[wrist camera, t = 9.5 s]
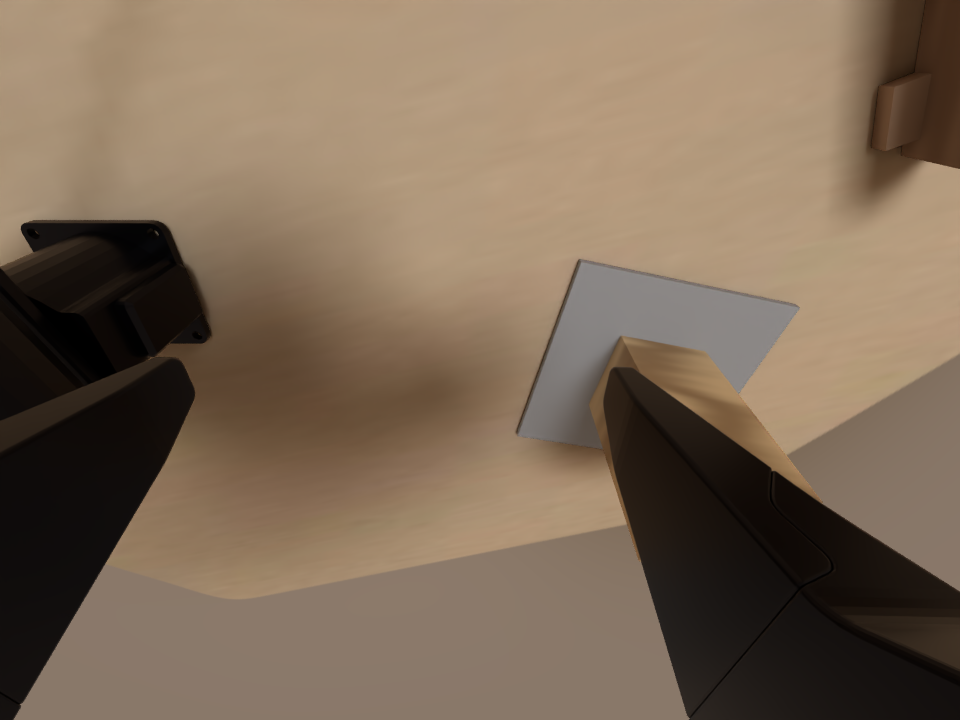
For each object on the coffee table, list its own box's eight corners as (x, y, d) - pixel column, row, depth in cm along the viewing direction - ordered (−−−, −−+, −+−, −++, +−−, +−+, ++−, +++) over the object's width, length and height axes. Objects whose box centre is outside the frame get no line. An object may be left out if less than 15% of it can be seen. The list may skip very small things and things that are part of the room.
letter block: (588, 404, 26) (639, 561, 18) (620, 335, 23) (697, 484, 15) (666, 417, 27) (749, 574, 19) (707, 351, 24) (825, 503, 16)
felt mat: (517, 431, 28) (517, 436, 28) (579, 258, 21) (581, 262, 21) (687, 458, 30) (689, 462, 29) (795, 304, 23) (800, 307, 23)
